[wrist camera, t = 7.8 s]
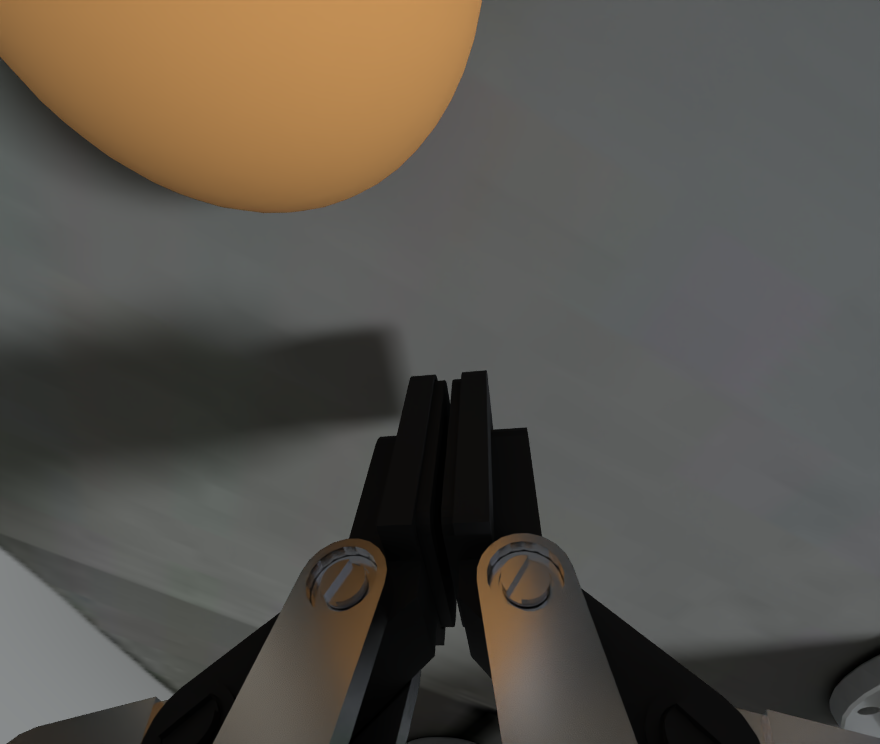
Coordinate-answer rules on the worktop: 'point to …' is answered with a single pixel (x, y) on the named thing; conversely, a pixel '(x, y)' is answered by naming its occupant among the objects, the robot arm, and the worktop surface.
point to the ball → (246, 88)
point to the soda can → (440, 741)
